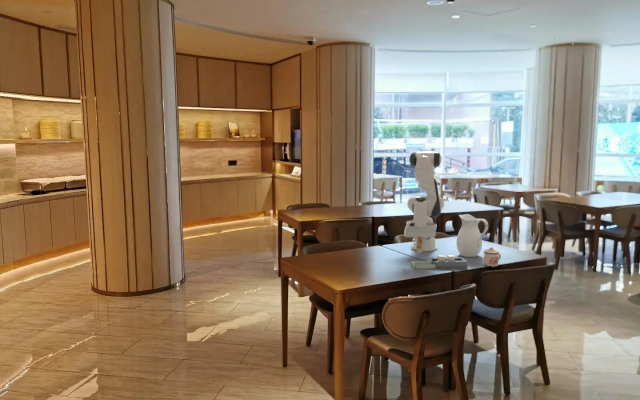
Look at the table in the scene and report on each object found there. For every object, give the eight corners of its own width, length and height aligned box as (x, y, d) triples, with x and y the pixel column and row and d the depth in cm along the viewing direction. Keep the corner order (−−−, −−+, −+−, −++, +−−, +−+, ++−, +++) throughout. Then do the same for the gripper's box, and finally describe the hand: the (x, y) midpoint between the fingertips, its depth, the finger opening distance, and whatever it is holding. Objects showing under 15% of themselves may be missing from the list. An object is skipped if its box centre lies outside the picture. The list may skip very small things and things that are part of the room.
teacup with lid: (490, 267, 317) (490, 249, 316) (480, 264, 326) (481, 246, 324) (505, 265, 322) (505, 247, 320) (495, 262, 330) (495, 244, 329)
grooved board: (431, 264, 325) (431, 257, 325) (462, 264, 326) (462, 257, 325) (435, 268, 315) (435, 261, 314) (467, 268, 315) (467, 261, 315)
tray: (411, 264, 325) (411, 261, 324) (431, 264, 325) (431, 260, 325) (414, 269, 315) (414, 265, 314) (435, 268, 315) (435, 264, 315)
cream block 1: (437, 261, 322) (437, 255, 321) (443, 261, 322) (443, 255, 321) (439, 262, 318) (439, 256, 317) (445, 262, 318) (445, 256, 317)
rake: (416, 250, 332) (416, 236, 330) (420, 250, 332) (421, 236, 330) (417, 252, 327) (418, 238, 326) (422, 252, 327) (422, 237, 326)
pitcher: (450, 254, 352) (452, 214, 348) (469, 251, 360) (470, 213, 356) (475, 261, 331) (477, 220, 327) (494, 258, 339) (496, 218, 335)
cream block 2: (446, 261, 322) (447, 255, 321) (453, 261, 322) (453, 254, 321) (448, 262, 318) (448, 256, 317) (454, 262, 318) (455, 256, 317)
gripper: (434, 221, 330) (434, 242, 332) (403, 222, 329) (403, 242, 332) (437, 223, 323) (436, 244, 326) (405, 224, 323) (405, 245, 325)
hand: (419, 243), depth 329 cm, fingers closed on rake, 2 cm apart
